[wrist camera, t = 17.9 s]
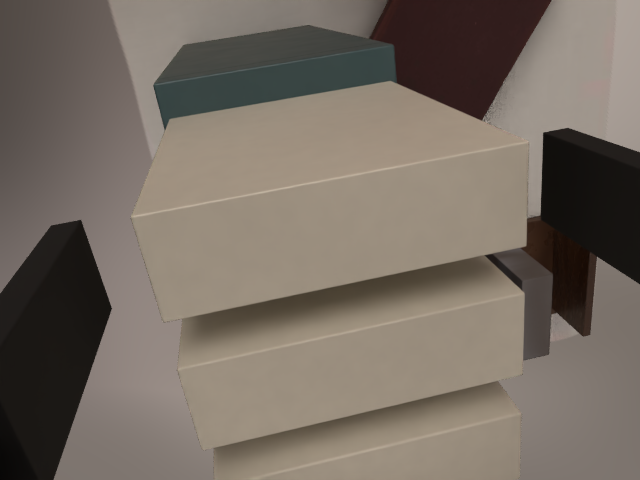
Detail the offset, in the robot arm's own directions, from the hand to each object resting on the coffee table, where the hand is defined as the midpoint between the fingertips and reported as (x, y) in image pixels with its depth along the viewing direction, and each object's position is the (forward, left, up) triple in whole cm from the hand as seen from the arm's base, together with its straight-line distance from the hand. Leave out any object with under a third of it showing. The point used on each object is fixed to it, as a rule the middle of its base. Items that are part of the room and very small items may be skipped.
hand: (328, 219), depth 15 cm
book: (+16, -5, -35) cm, 39 cm away
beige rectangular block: (0, 0, -10) cm, 10 cm away
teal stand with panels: (-1, -4, -34) cm, 35 cm away
